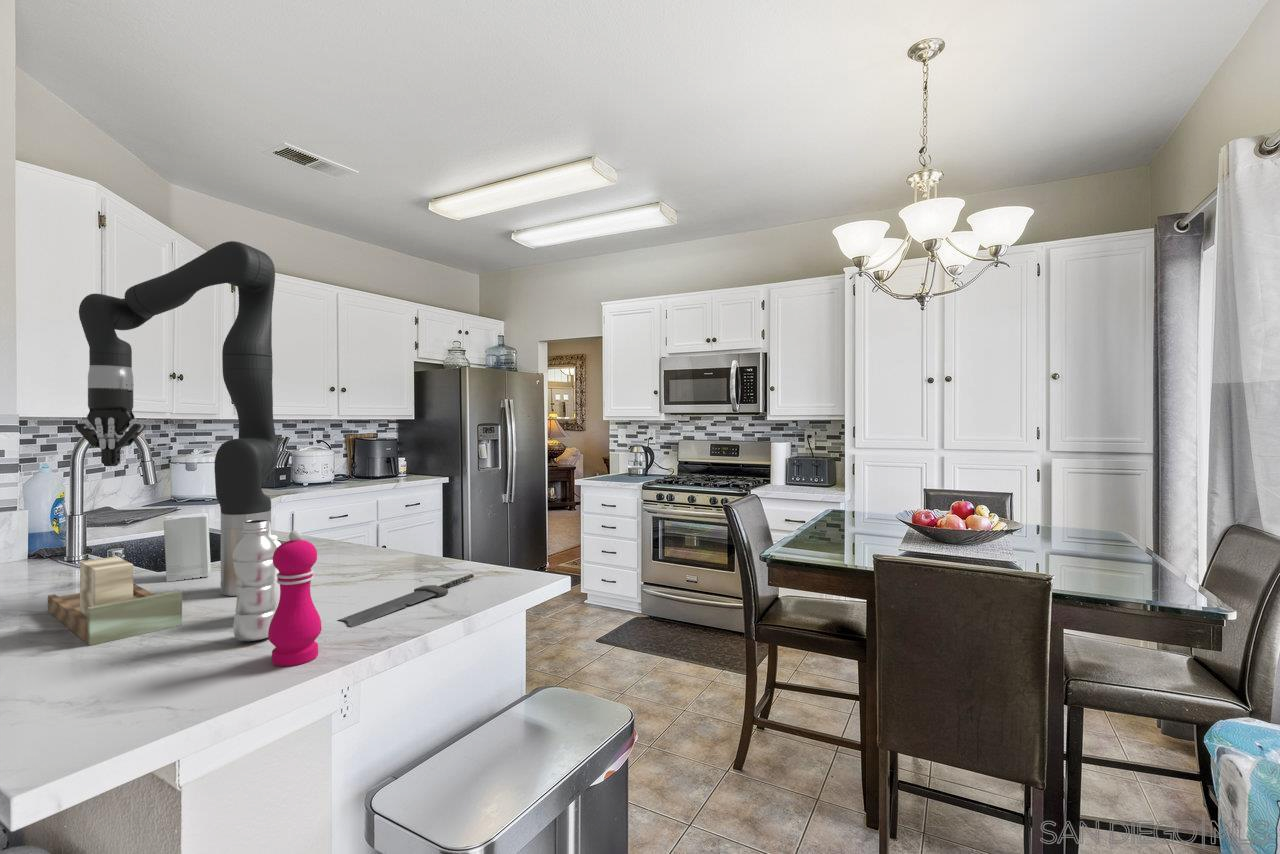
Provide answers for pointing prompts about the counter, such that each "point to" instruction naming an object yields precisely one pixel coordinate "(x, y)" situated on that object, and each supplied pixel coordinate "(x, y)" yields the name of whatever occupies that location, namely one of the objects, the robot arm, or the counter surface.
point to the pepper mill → (294, 604)
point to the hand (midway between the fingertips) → (111, 466)
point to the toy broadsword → (400, 602)
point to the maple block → (104, 582)
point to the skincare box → (187, 546)
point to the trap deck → (119, 615)
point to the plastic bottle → (254, 582)
